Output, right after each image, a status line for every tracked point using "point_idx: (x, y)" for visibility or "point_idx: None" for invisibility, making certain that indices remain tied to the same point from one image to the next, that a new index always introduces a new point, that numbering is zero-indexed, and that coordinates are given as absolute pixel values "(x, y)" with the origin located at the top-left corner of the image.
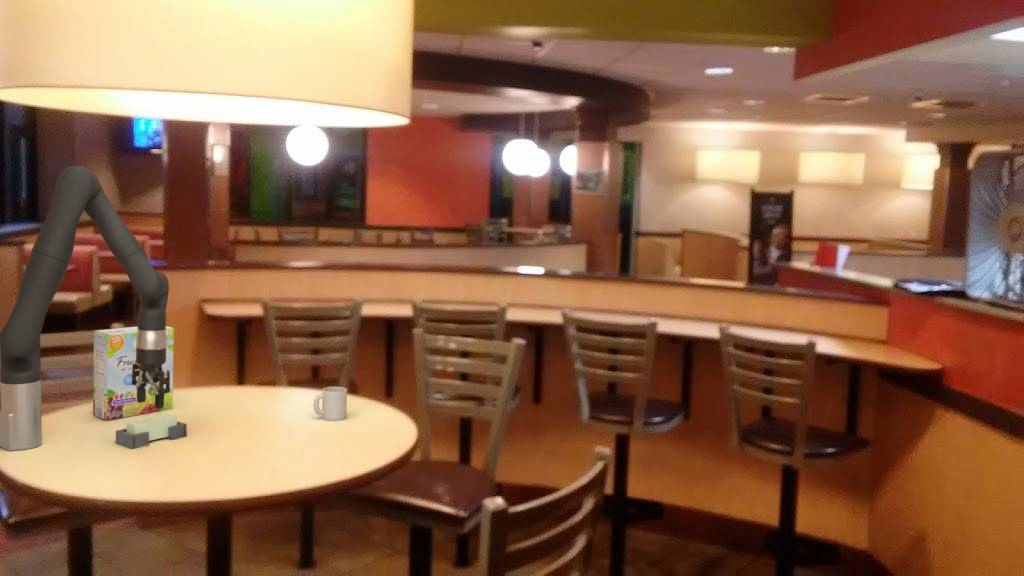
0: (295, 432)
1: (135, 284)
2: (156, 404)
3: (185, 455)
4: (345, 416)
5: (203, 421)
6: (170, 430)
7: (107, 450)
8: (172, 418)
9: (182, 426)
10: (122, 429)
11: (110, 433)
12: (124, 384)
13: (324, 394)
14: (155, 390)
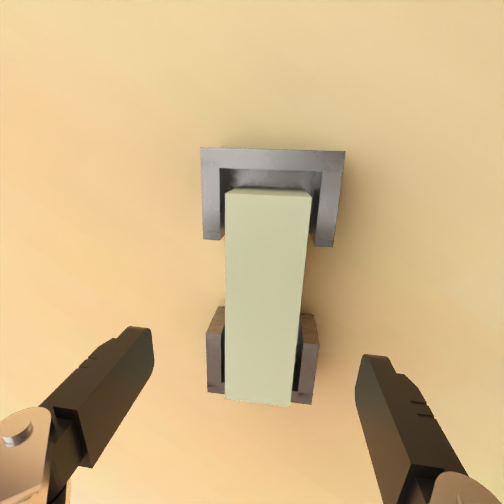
0: (74, 499)
1: None
2: (113, 342)
3: (35, 230)
4: None
5: (322, 475)
6: (209, 326)
7: (273, 66)
8: (225, 379)
9: (208, 373)
10: (336, 188)
11: (482, 230)
12: None
13: None
14: (13, 458)
